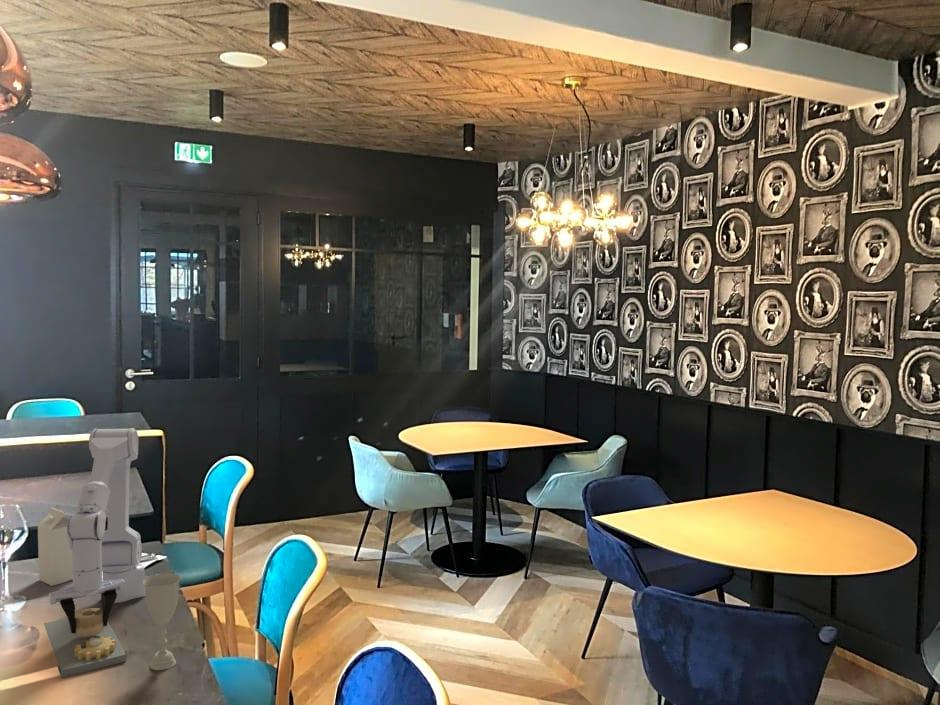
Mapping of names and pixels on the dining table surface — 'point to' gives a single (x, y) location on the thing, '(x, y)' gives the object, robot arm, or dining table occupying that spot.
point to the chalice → (162, 612)
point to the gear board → (83, 648)
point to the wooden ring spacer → (89, 622)
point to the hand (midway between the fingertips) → (88, 628)
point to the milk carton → (54, 549)
